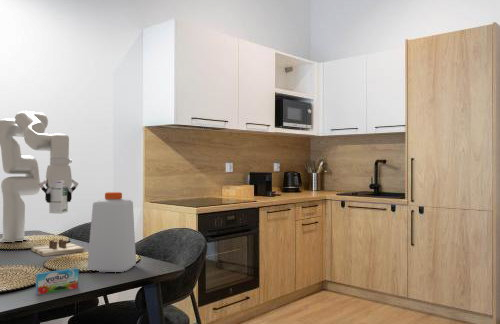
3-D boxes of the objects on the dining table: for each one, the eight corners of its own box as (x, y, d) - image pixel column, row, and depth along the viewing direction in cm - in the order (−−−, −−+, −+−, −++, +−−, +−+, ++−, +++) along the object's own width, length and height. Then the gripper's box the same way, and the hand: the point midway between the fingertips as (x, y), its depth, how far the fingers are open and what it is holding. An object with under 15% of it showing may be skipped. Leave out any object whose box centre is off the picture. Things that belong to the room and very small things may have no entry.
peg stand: (31, 250, 197) (31, 239, 197) (70, 246, 208) (70, 236, 208) (43, 256, 184) (43, 245, 184) (84, 251, 196) (84, 241, 196)
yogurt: (37, 295, 130) (37, 274, 130) (35, 294, 131) (35, 273, 131) (78, 288, 138) (78, 268, 138) (76, 287, 139) (76, 267, 139)
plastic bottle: (139, 264, 172) (140, 191, 172) (124, 274, 156) (125, 194, 157) (101, 263, 173) (102, 191, 173) (82, 272, 158) (84, 193, 158)
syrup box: (62, 213, 194) (62, 180, 194) (48, 213, 194) (49, 179, 194) (67, 212, 199) (68, 179, 200) (54, 212, 200) (55, 179, 200)
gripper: (76, 162, 205) (75, 200, 205) (35, 161, 194) (34, 202, 194) (82, 162, 200) (81, 201, 200) (41, 162, 188) (40, 203, 188)
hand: (58, 201), depth 197 cm, fingers closed on syrup box, 8 cm apart
